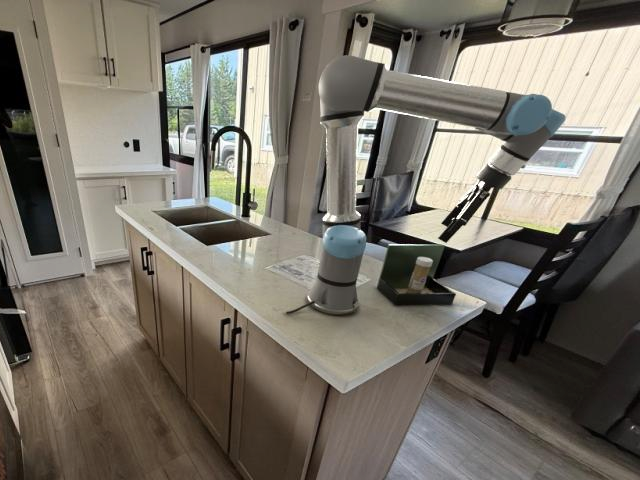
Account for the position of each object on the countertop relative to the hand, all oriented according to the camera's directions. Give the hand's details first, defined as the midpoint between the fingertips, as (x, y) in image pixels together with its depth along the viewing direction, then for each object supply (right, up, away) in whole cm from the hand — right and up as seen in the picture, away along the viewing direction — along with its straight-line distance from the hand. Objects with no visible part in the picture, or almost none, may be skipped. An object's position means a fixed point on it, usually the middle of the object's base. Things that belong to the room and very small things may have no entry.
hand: (443, 232), depth 103 cm
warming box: (-6, -20, +7) cm, 22 cm away
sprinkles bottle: (-6, -20, +7) cm, 22 cm away
